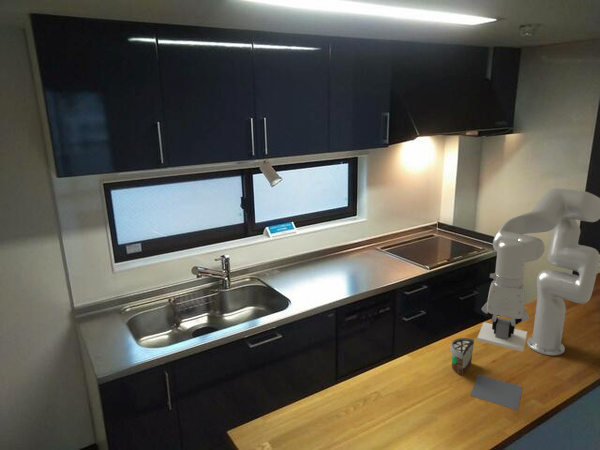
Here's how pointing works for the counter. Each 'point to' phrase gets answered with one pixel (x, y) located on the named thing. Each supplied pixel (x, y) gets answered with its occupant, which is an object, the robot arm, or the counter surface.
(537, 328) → the robot arm
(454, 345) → the food container
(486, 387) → the mat
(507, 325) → the lid
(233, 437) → the counter surface
